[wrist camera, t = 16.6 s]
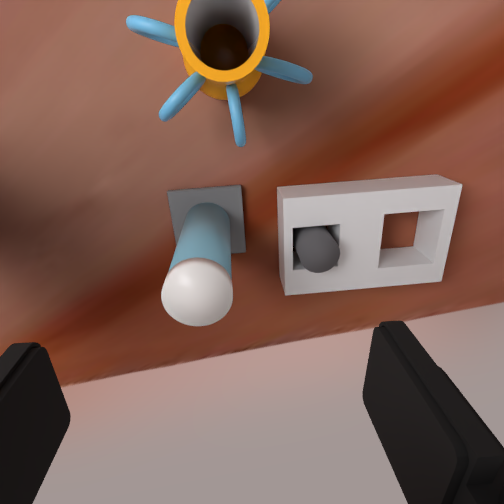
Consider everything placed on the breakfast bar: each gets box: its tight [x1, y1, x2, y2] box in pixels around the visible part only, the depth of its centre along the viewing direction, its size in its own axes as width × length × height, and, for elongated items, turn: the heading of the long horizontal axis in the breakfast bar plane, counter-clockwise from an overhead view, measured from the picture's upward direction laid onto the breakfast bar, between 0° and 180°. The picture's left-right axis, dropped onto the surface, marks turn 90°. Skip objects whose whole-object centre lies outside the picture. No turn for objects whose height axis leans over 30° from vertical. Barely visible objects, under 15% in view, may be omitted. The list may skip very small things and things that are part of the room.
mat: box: [167, 185, 246, 254], centre depth 33 cm, size 7×7×1 cm
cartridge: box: [161, 202, 233, 326], centre depth 27 cm, size 4×4×13 cm
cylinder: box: [126, 0, 313, 147], centre depth 21 cm, size 12×10×15 cm
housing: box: [277, 174, 463, 296], centre depth 33 cm, size 16×10×4 cm, turn 93°
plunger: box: [293, 225, 340, 273], centre depth 32 cm, size 4×4×5 cm
